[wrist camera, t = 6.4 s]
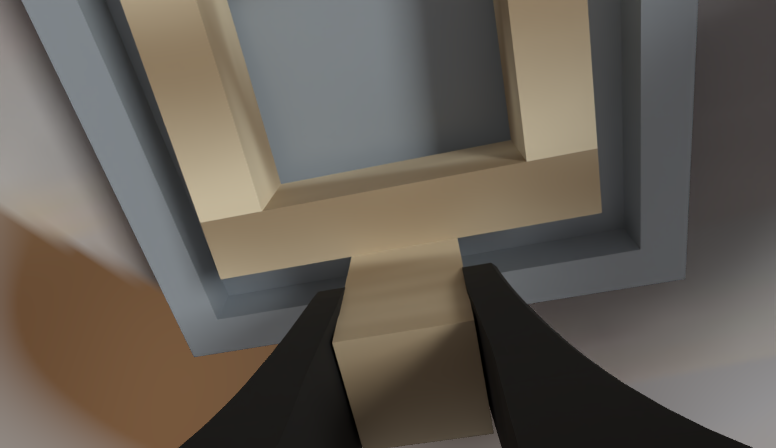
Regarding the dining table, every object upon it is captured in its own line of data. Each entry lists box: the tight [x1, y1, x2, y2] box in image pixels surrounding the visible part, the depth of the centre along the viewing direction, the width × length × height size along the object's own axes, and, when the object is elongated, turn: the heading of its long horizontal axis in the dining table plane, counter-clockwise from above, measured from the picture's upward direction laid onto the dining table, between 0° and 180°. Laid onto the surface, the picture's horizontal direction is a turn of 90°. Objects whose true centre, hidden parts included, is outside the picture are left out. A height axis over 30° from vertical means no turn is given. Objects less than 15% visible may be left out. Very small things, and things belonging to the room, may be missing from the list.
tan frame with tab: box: [120, 0, 602, 448], centre depth 11 cm, size 12×9×6 cm
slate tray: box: [22, 0, 698, 357], centre depth 14 cm, size 14×14×2 cm
